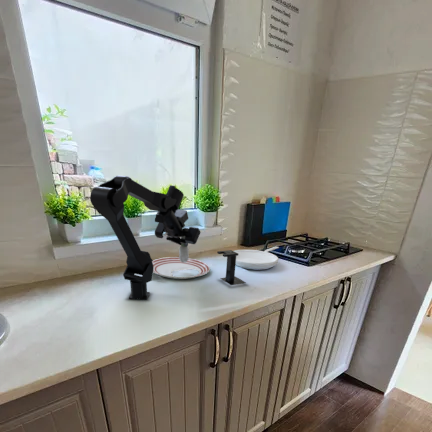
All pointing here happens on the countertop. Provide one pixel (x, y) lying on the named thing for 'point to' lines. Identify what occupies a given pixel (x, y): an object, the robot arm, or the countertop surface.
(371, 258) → the countertop surface
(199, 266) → the dinner plate
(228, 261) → the black bracket
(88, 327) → the countertop surface
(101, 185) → the robot arm
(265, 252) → the white round dish
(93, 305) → the countertop surface
